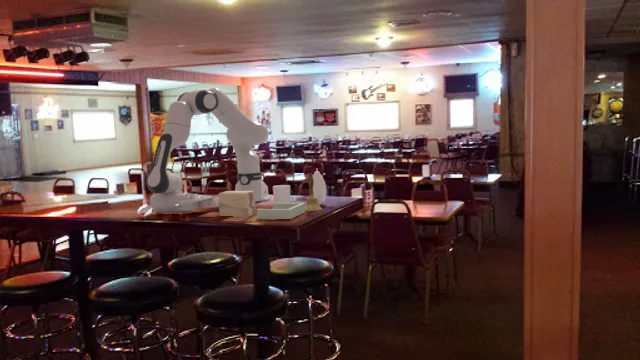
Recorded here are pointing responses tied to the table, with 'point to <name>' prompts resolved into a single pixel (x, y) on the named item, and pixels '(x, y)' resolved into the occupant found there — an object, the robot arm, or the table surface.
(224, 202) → the pale maple block
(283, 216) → the pale green tray
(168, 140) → the robot arm
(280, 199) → the white cup
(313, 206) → the hand bell
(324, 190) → the white tall oval shape
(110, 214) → the table surface
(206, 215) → the trap pits
